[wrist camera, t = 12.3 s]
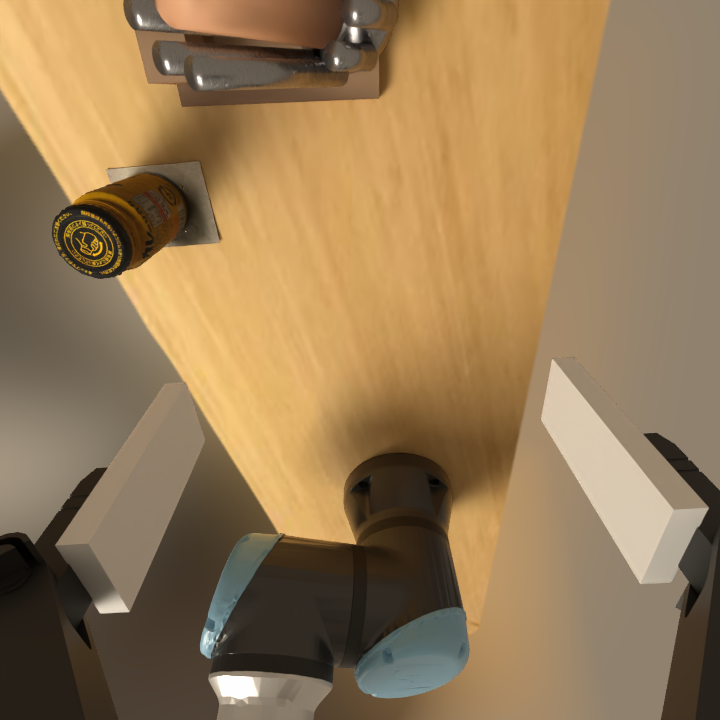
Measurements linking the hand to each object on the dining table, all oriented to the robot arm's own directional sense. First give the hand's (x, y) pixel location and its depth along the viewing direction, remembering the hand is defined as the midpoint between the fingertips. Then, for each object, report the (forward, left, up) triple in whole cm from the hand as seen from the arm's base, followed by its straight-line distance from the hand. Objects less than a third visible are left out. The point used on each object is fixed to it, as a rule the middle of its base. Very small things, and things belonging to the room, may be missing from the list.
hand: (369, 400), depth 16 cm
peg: (+14, +2, -26) cm, 30 cm away
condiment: (+1, +18, -29) cm, 35 cm away
